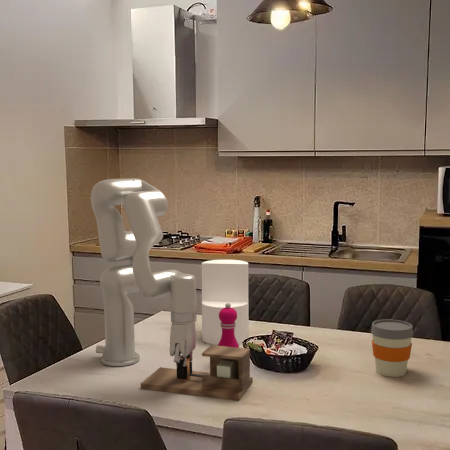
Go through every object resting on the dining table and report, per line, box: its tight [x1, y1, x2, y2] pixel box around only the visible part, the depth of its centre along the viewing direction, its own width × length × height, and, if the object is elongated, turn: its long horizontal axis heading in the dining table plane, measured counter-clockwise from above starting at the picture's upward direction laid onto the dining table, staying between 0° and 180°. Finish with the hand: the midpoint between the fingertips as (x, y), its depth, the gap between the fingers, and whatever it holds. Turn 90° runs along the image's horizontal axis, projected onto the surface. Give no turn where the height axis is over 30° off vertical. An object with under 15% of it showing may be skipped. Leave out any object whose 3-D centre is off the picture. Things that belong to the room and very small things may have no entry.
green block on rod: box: [180, 358, 235, 381], centre depth 177 cm, size 16×5×6 cm, turn 72°
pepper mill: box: [217, 303, 240, 348], centre depth 196 cm, size 7×7×20 cm
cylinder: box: [201, 259, 250, 346], centre depth 222 cm, size 17×17×28 cm
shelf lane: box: [140, 344, 254, 401], centre depth 177 cm, size 30×14×11 cm, turn 72°
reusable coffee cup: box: [370, 318, 414, 378], centre depth 187 cm, size 13×13×15 cm
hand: (184, 376), depth 179 cm, fingers closed on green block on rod, 3 cm apart
